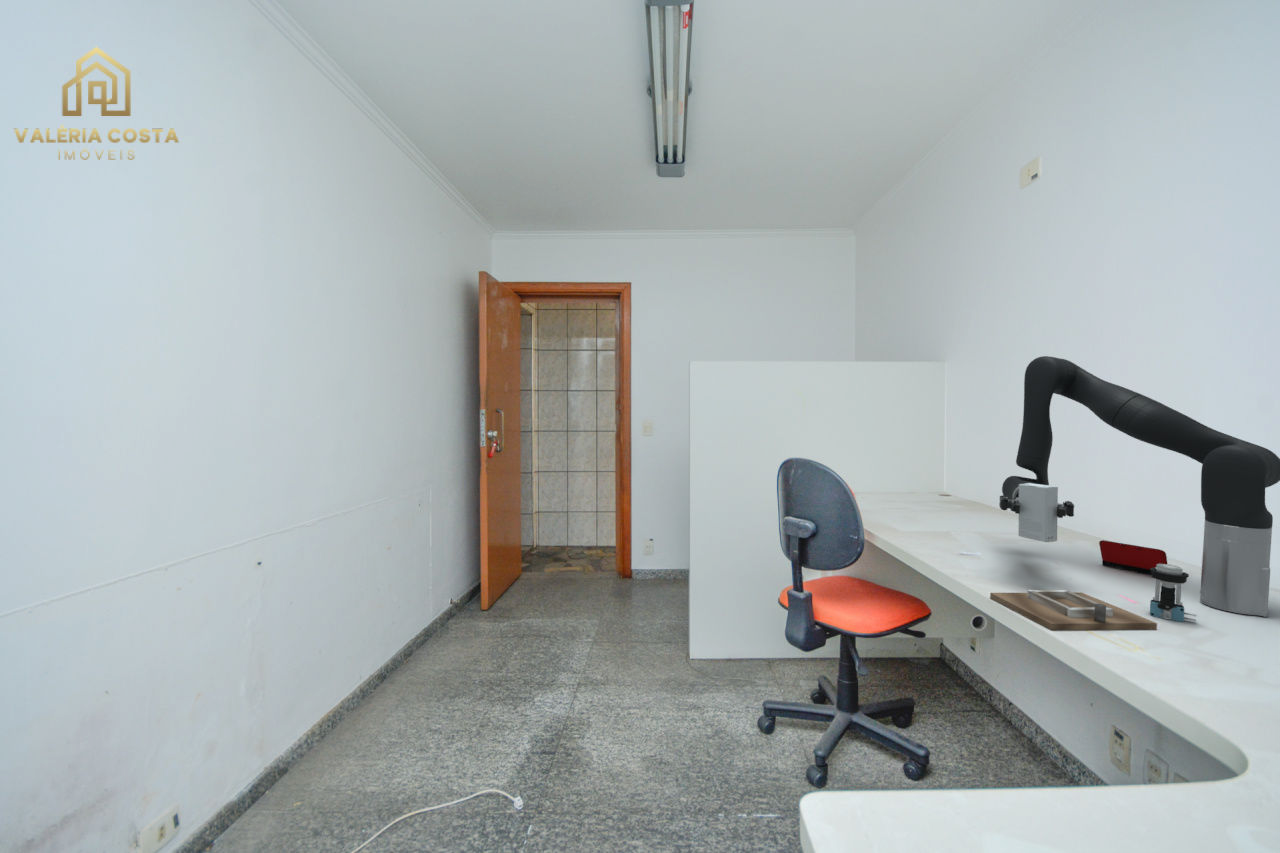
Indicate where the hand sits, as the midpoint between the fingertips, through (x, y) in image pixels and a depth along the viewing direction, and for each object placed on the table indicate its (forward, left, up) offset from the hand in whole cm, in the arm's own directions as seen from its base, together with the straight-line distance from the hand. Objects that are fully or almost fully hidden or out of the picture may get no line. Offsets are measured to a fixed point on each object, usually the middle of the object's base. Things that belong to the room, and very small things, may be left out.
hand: (1039, 511), depth 119 cm
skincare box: (+1, -2, -7) cm, 7 cm away
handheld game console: (-13, -38, -18) cm, 44 cm away
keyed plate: (-7, +11, -18) cm, 22 cm away
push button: (-21, -1, -18) cm, 28 cm away
